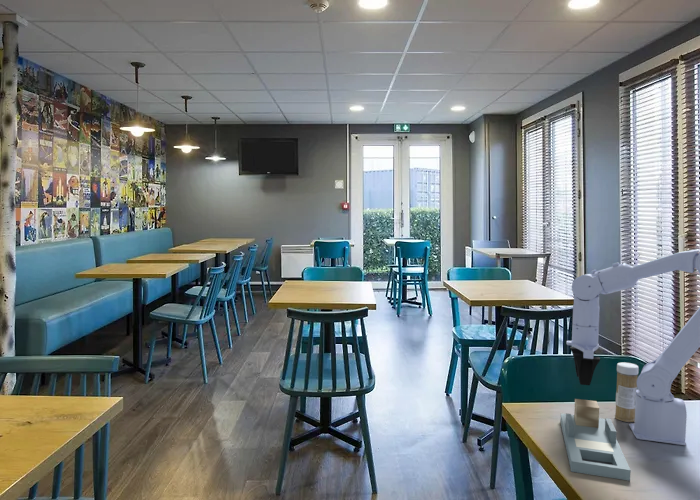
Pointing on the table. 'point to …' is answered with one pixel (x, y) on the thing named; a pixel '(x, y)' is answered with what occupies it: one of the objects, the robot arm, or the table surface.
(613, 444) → the deck
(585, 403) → the block
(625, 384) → the sprinkles bottle
